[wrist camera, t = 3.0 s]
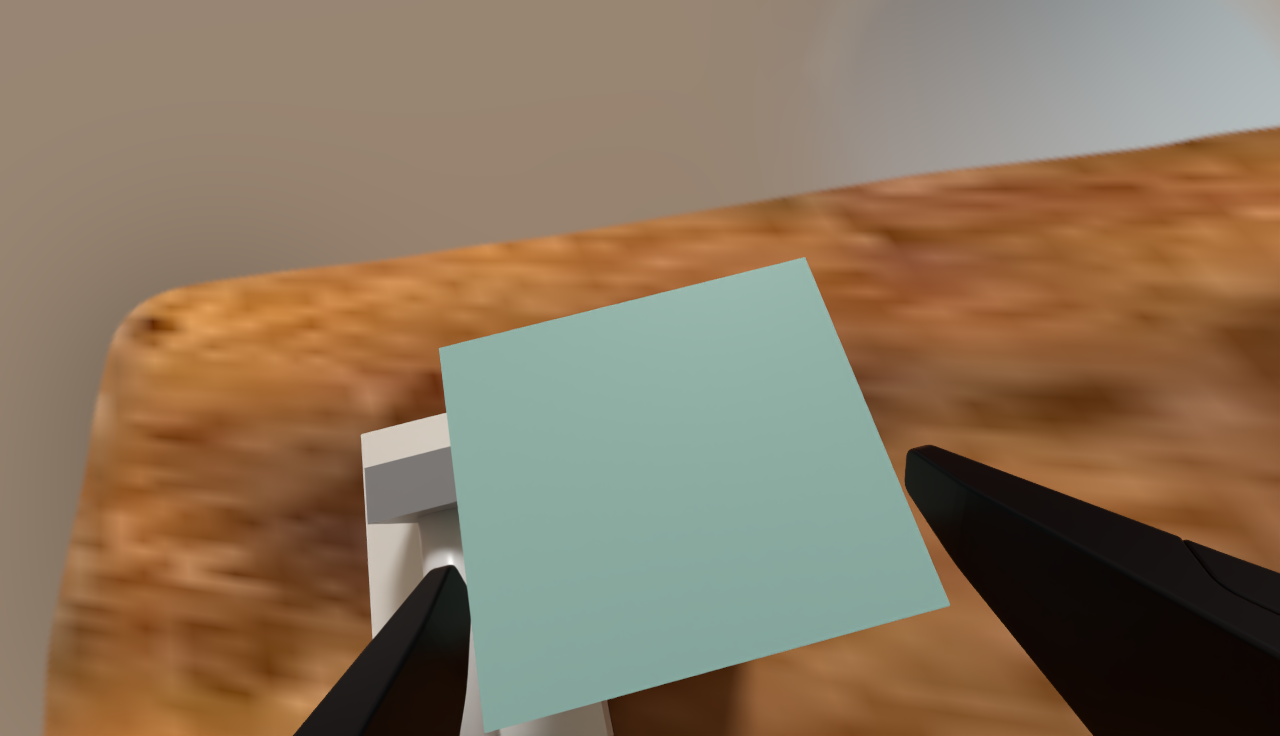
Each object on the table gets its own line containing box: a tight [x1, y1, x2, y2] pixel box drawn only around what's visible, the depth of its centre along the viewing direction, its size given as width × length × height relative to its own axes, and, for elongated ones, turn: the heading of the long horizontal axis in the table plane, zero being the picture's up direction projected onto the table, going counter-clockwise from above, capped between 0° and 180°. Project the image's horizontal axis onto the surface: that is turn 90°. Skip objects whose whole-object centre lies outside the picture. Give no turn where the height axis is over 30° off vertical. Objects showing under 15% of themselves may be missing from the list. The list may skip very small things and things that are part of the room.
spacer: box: [439, 257, 950, 733], centre depth 11 cm, size 4×5×12 cm
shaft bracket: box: [361, 413, 614, 736], centre depth 14 cm, size 15×7×4 cm, turn 14°
